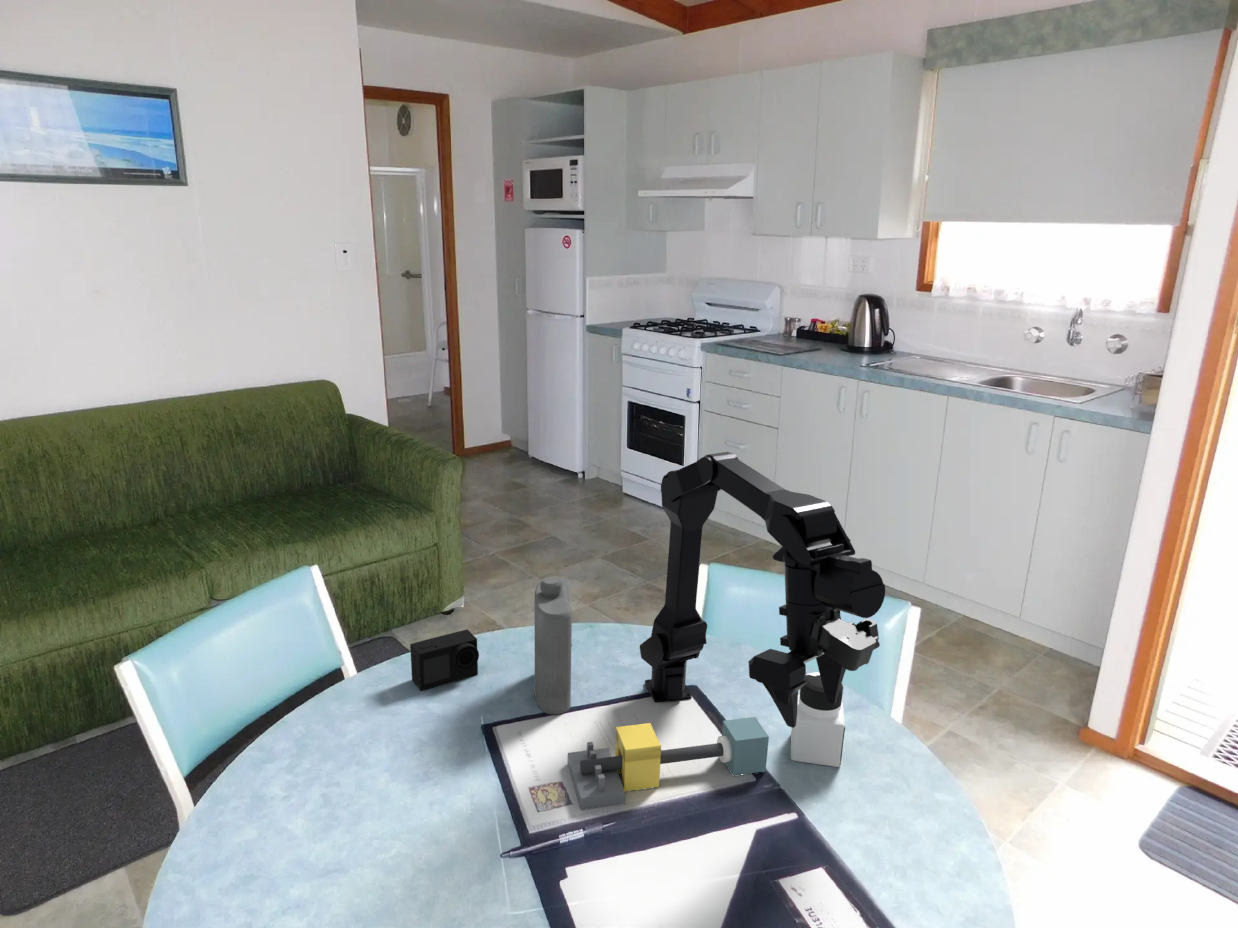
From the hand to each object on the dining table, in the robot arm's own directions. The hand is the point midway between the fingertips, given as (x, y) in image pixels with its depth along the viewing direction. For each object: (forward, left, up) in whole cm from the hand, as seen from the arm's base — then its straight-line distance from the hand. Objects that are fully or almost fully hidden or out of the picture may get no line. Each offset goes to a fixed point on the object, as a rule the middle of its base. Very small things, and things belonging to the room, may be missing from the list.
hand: (812, 714), depth 107 cm
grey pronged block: (-10, -27, -14) cm, 32 cm away
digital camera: (-42, -46, -15) cm, 64 cm away
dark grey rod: (-10, -16, -14) cm, 23 cm away
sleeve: (-10, -21, -14) cm, 27 cm away
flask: (-35, -29, -14) cm, 48 cm away
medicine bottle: (-11, +7, -14) cm, 20 cm away
